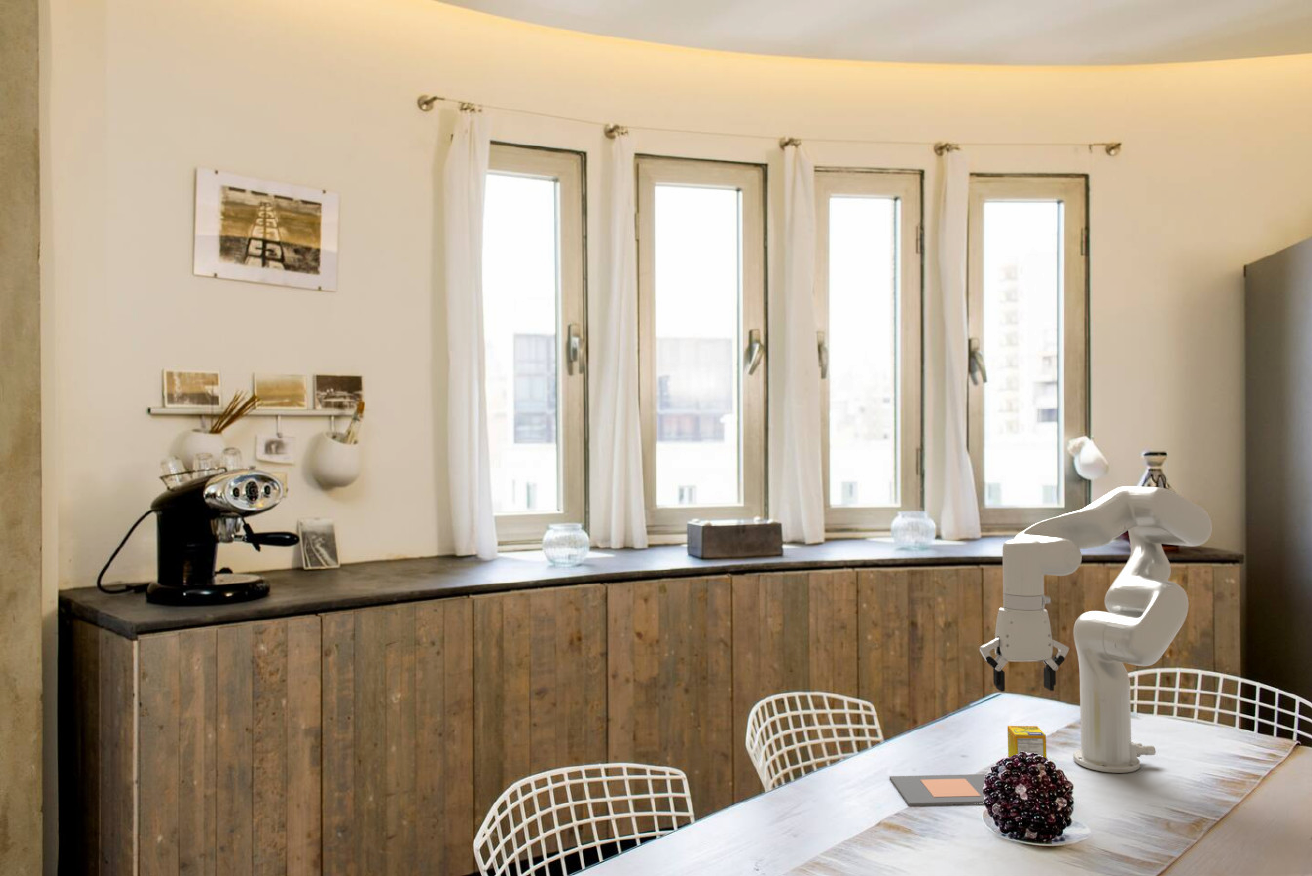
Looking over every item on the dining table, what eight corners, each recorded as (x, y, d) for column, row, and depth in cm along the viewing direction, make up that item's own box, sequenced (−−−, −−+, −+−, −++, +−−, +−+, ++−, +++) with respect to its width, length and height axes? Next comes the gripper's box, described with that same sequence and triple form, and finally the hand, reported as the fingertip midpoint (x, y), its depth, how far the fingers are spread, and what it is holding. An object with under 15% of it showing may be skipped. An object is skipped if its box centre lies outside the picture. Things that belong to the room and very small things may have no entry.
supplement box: (1038, 779, 188) (1037, 725, 188) (1048, 791, 182) (1046, 734, 182) (1007, 779, 188) (1006, 724, 188) (1016, 790, 182) (1015, 734, 182)
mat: (988, 776, 190) (987, 773, 190) (1015, 803, 176) (1014, 800, 176) (889, 778, 190) (889, 775, 190) (908, 805, 176) (908, 802, 176)
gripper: (1058, 599, 189) (1059, 684, 189) (973, 599, 189) (974, 685, 188) (1075, 605, 181) (1076, 694, 181) (986, 606, 181) (987, 695, 181)
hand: (1024, 689), depth 185 cm, fingers open, 9 cm apart
